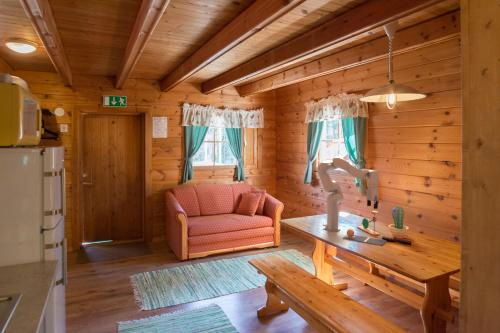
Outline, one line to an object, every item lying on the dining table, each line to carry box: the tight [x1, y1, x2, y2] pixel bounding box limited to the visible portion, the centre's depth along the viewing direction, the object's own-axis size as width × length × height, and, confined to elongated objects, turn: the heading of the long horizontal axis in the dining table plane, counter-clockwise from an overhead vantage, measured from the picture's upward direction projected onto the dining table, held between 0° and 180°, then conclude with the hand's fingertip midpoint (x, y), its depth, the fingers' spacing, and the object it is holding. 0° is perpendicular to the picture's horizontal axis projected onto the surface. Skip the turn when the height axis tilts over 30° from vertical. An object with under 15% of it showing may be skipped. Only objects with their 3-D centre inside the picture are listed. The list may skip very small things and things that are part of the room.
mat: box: [342, 234, 387, 247], centre depth 263 cm, size 30×13×1 cm, turn 56°
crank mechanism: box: [356, 210, 380, 237], centre depth 286 cm, size 25×7×19 cm, turn 14°
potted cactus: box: [387, 205, 410, 239], centre depth 271 cm, size 15×15×25 cm
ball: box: [346, 228, 355, 237], centre depth 269 cm, size 6×6×6 cm
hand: (372, 207), depth 265 cm, fingers open, 9 cm apart
